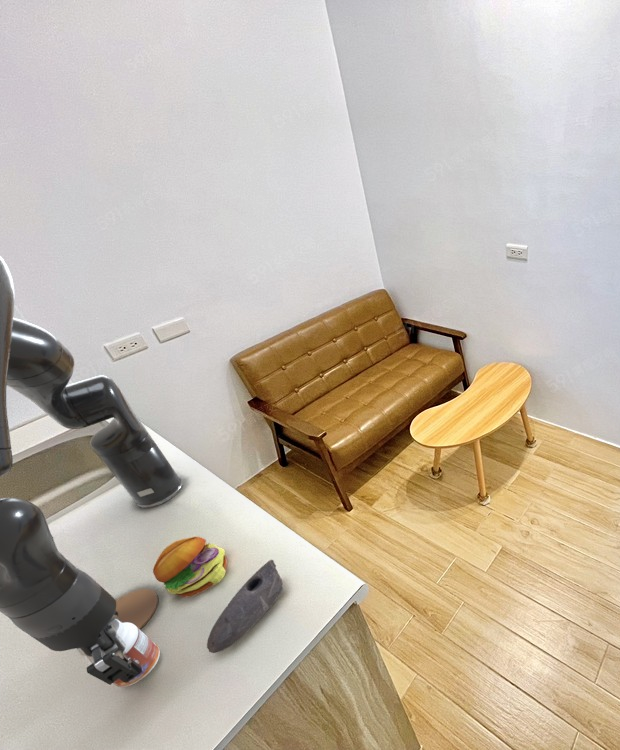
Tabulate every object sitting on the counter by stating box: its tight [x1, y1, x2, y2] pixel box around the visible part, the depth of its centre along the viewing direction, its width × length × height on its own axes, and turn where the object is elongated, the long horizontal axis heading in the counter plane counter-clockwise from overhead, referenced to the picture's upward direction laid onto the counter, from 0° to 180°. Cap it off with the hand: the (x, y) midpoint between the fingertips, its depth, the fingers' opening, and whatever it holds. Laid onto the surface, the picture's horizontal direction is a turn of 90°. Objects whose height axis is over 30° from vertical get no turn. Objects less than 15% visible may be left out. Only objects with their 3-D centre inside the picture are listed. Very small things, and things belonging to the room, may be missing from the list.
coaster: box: [115, 588, 159, 630], centre depth 72 cm, size 10×10×1 cm
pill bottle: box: [84, 619, 161, 688], centre depth 61 cm, size 6×6×11 cm
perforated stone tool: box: [206, 559, 284, 654], centre depth 70 cm, size 15×5×7 cm, turn 156°
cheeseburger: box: [152, 536, 228, 598], centre depth 76 cm, size 10×11×10 cm
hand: (130, 658), depth 63 cm, fingers closed on pill bottle, 6 cm apart
